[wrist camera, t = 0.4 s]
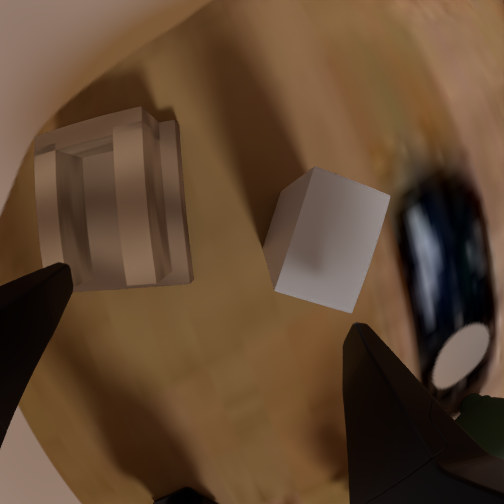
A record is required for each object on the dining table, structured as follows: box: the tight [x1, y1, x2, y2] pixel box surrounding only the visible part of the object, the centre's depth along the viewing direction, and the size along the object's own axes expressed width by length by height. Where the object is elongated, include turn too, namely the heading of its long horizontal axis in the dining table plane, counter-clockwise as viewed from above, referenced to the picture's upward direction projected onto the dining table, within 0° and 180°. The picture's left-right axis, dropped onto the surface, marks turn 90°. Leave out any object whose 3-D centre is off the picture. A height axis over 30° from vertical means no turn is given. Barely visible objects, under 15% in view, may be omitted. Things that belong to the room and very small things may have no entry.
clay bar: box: [263, 166, 390, 313], centre depth 17 cm, size 4×3×13 cm, turn 162°
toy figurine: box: [455, 393, 504, 459], centre depth 18 cm, size 9×19×25 cm
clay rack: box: [34, 106, 194, 292], centre depth 21 cm, size 12×11×6 cm
